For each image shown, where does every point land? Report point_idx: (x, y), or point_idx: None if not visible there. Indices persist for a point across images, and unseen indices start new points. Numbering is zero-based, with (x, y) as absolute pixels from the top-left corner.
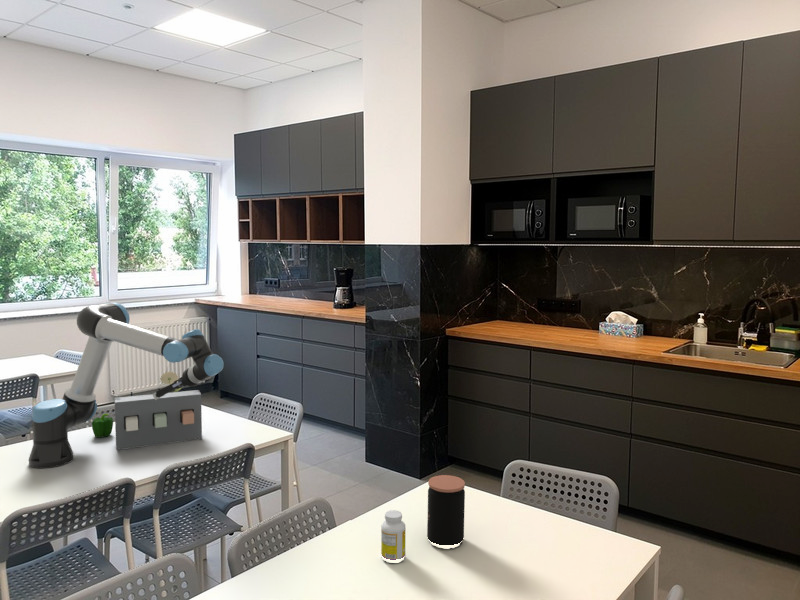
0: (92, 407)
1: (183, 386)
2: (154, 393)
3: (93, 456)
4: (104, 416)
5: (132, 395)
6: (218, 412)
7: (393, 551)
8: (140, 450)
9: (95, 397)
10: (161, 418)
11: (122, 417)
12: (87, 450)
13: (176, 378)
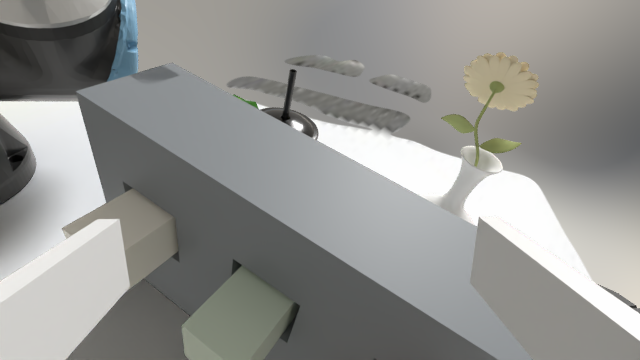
0: (90, 60)
1: (487, 303)
2: (64, 244)
3: (26, 246)
4: (255, 102)
5: (291, 87)
6: (581, 265)
7: None
8: (141, 352)
9: (77, 17)
10: (213, 355)
11: (119, 181)
12: (94, 192)
13: (524, 99)
